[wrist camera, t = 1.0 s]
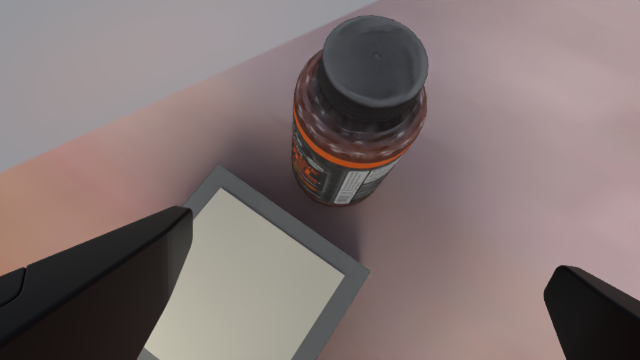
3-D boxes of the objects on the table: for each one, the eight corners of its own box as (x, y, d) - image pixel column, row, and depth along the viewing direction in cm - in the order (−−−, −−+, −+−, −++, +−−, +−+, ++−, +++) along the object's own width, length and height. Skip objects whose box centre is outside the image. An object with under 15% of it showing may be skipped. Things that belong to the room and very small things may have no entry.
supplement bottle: (275, 146, 24) (266, 19, 13) (353, 112, 25) (401, -28, 15) (317, 226, 23) (344, 155, 12) (398, 185, 24) (487, 89, 13)
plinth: (256, 441, 19) (250, 466, 16) (108, 322, 20) (77, 325, 17) (359, 275, 22) (371, 270, 19) (227, 181, 23) (218, 163, 20)
